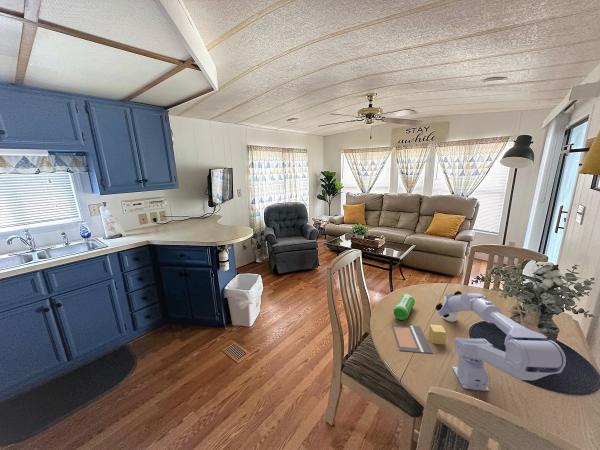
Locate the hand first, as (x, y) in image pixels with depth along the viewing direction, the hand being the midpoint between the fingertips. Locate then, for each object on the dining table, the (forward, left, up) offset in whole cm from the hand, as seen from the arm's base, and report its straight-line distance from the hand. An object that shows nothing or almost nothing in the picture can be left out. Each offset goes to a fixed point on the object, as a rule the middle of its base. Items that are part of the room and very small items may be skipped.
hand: (444, 304), depth 107 cm
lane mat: (-1, +13, -17) cm, 21 cm away
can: (+17, -10, -17) cm, 26 cm away
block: (-1, +2, -17) cm, 17 cm away
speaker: (+20, +11, -17) cm, 29 cm away
